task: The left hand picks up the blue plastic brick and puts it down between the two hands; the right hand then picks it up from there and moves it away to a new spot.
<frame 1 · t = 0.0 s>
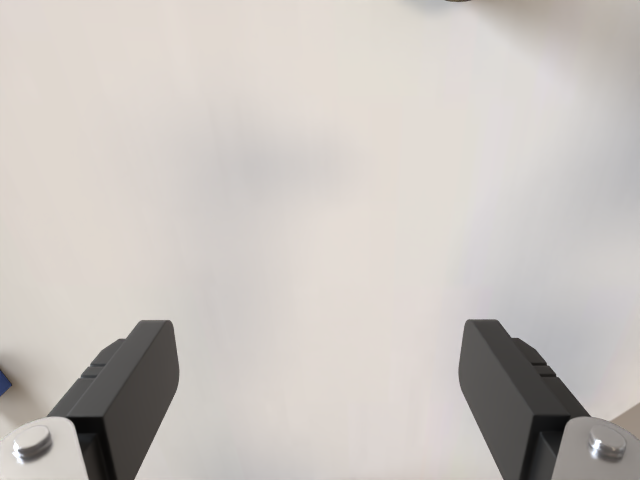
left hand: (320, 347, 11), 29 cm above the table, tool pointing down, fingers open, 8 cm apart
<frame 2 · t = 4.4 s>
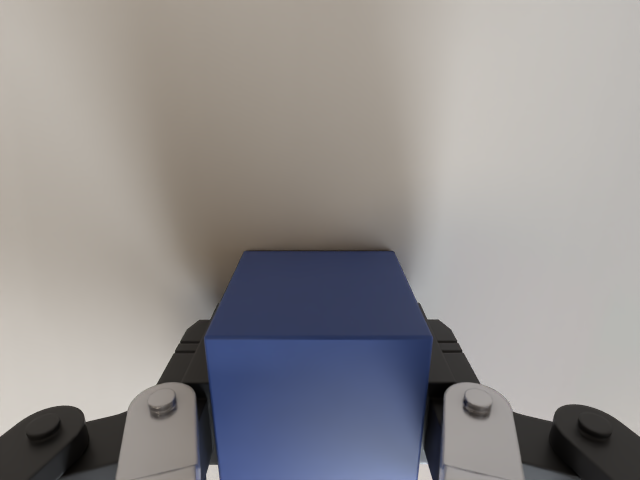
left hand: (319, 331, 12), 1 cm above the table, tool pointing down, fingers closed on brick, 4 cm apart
brick: (319, 322, 13), on the table, touching left hand
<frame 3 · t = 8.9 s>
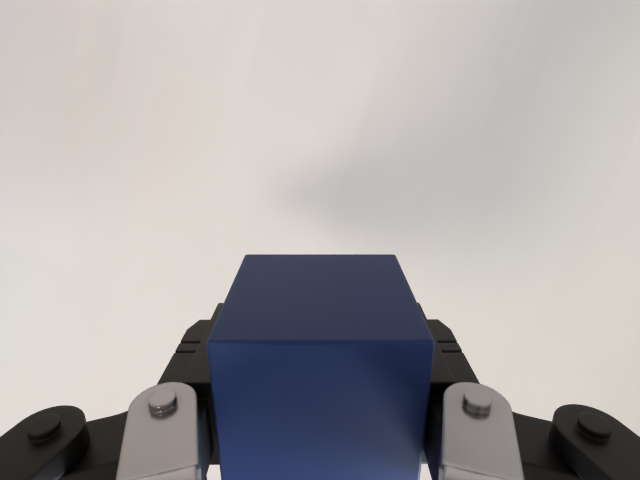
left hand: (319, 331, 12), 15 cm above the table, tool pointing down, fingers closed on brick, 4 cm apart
brick: (320, 325, 13), point 15 cm above the table, touching left hand
when the left hand's fingers open (1 cm above the table, at t = 13.7 s): brick stays where it is, on the table.
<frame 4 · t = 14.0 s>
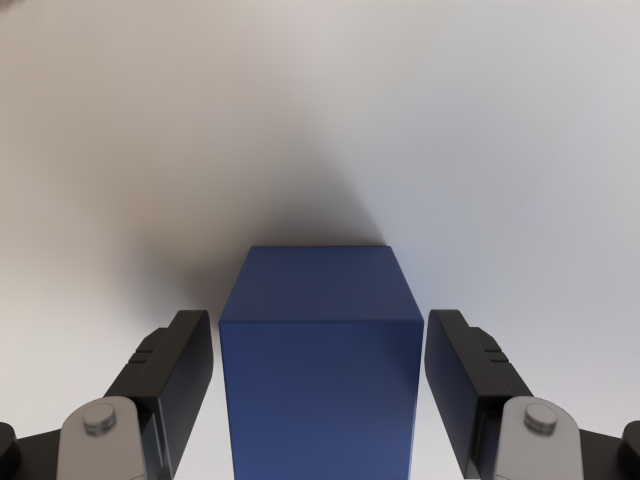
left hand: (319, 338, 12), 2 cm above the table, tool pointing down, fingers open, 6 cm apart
brick: (321, 313, 14), on the table
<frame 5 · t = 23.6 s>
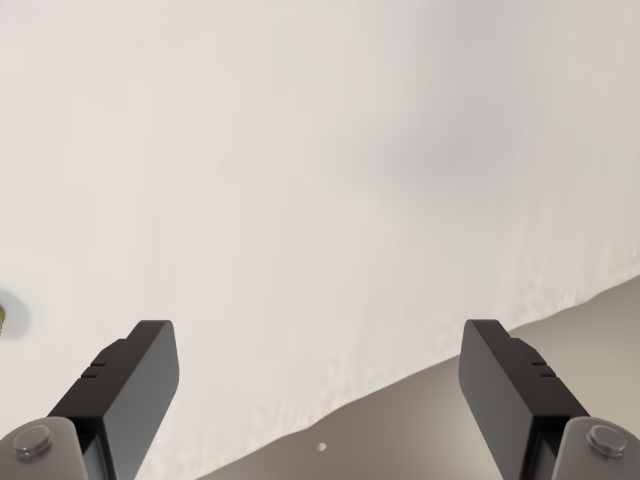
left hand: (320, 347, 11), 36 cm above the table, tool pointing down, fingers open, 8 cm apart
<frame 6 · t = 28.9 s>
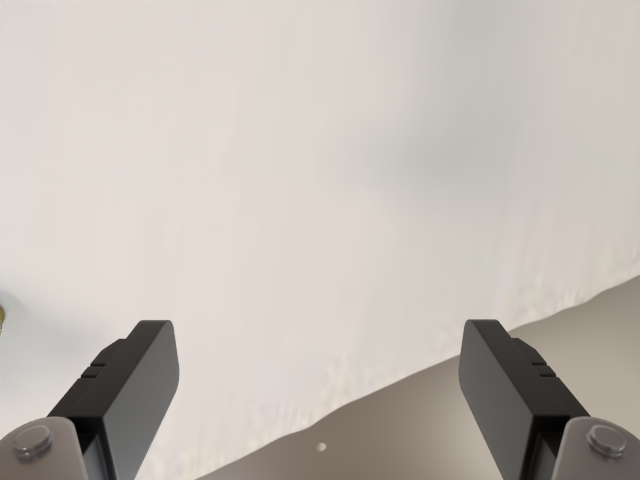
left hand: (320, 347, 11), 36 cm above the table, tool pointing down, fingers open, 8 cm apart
when the right hand's fingers open (1 cm above the table, at t = 34.2 s): brick stays where it is, on the table.
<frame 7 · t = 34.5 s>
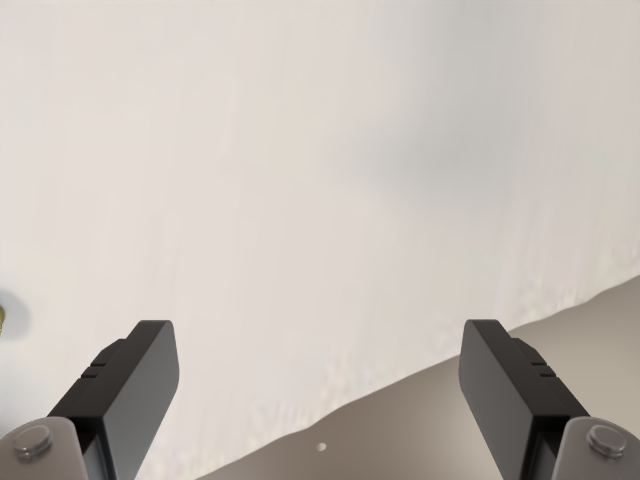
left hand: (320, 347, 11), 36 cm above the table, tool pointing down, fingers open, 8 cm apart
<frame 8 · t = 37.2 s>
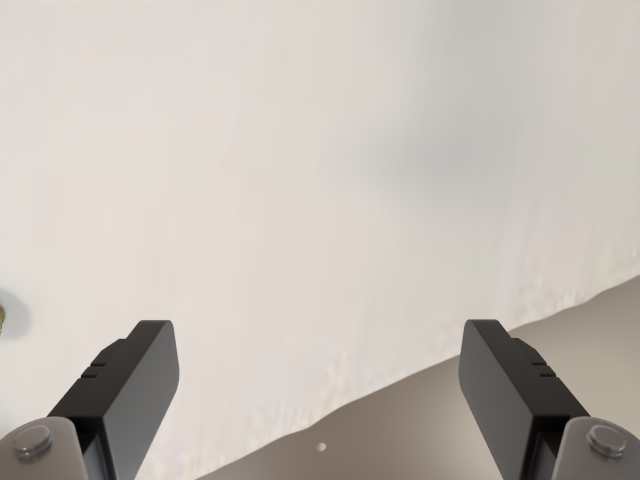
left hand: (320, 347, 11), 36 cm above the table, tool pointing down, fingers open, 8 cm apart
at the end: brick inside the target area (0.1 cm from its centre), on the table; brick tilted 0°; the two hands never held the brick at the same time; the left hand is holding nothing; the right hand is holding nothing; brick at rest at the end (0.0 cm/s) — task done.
